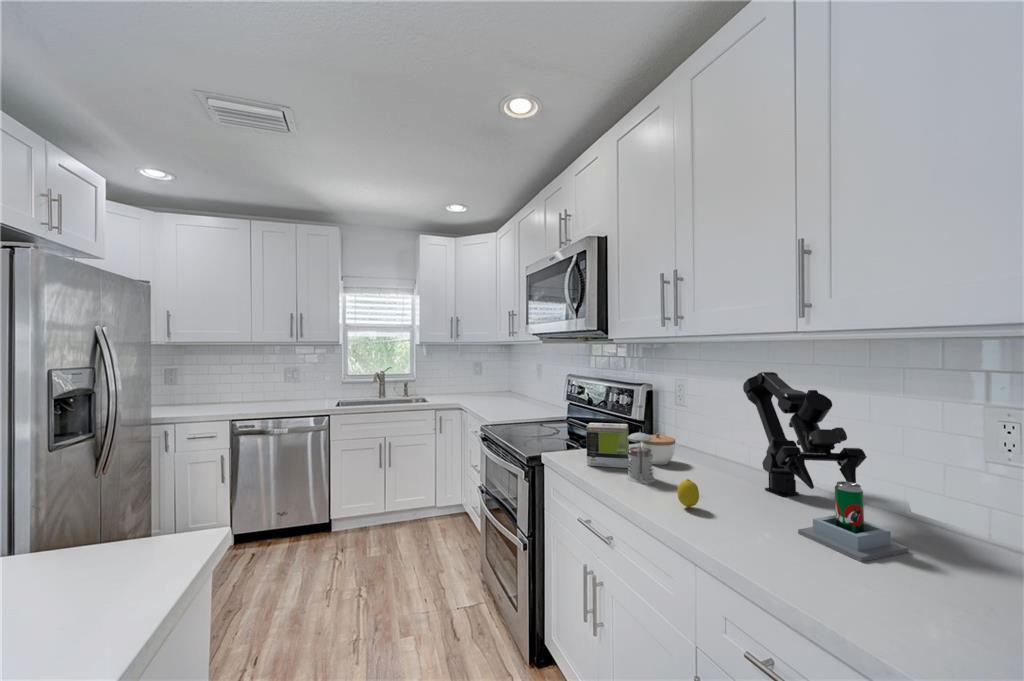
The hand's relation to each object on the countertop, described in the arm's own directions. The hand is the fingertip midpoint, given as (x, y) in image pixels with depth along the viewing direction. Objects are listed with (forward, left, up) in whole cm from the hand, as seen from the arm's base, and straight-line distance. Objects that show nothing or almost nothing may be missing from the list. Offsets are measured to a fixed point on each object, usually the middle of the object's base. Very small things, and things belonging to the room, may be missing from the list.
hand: (833, 488), depth 103 cm
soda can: (+6, -3, -9) cm, 11 cm away
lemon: (-22, -24, -10) cm, 34 cm away
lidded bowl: (-64, -4, -10) cm, 65 cm away
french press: (-48, -22, -10) cm, 54 cm away
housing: (+6, -3, -10) cm, 12 cm away
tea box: (-68, -23, -10) cm, 73 cm away
